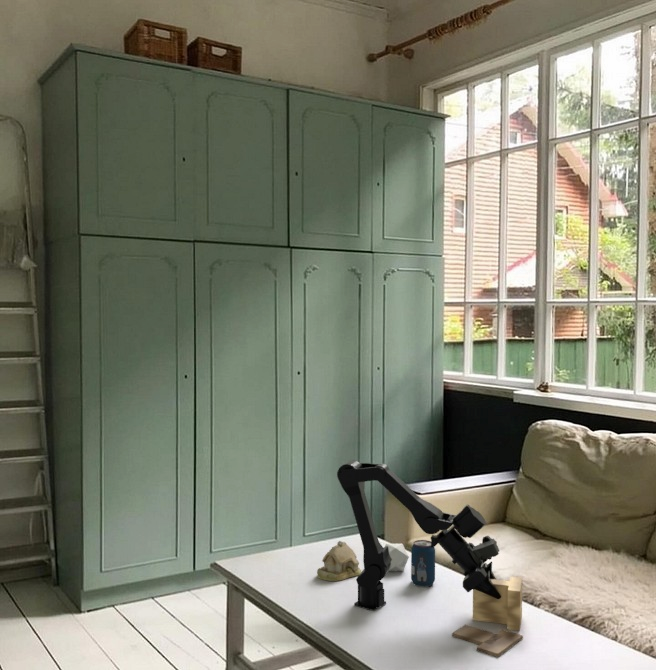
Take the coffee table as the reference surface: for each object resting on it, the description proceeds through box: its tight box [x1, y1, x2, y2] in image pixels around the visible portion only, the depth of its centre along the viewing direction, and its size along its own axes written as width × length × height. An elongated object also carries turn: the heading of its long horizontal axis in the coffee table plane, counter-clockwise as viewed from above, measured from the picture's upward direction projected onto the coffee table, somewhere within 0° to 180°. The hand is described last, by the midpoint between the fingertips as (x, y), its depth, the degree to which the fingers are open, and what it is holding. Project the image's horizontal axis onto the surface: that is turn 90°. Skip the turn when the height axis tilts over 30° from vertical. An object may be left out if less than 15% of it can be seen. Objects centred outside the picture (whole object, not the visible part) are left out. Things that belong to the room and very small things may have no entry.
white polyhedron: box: [384, 543, 410, 572], centre depth 237 cm, size 8×9×10 cm
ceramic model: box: [316, 540, 362, 582], centre depth 233 cm, size 14×11×10 cm
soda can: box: [410, 539, 436, 588], centre depth 225 cm, size 7×7×12 cm
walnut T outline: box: [451, 624, 524, 658], centre depth 187 cm, size 14×13×1 cm
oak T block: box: [472, 576, 523, 632], centre depth 199 cm, size 12×10×10 cm
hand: (500, 595), depth 199 cm, fingers closed on oak T block, 4 cm apart
